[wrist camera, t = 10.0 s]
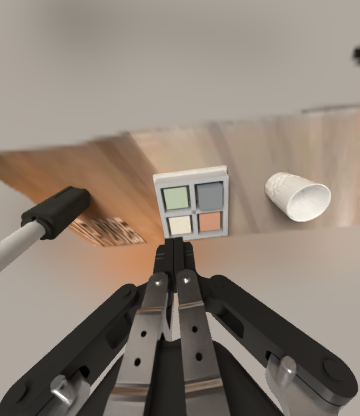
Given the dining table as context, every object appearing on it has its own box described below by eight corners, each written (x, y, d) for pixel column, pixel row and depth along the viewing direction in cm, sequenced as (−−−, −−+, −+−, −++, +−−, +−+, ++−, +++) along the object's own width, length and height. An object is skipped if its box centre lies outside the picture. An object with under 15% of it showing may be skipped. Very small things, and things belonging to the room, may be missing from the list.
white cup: (300, 169, 37) (338, 183, 29) (289, 200, 41) (321, 221, 32) (266, 169, 37) (294, 184, 28) (258, 201, 41) (281, 222, 32)
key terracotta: (216, 205, 40) (220, 211, 37) (217, 221, 42) (220, 229, 39) (197, 207, 40) (199, 214, 37) (198, 224, 42) (200, 231, 39)
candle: (89, 189, 38) (-30, 279, 16) (89, 208, 41) (-14, 309, 19) (66, 185, 38) (-90, 272, 16) (68, 204, 40) (-66, 304, 18)
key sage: (185, 181, 37) (186, 186, 34) (187, 200, 39) (188, 207, 36) (164, 184, 37) (163, 189, 34) (167, 203, 39) (167, 209, 36)
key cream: (188, 208, 40) (189, 215, 37) (190, 225, 42) (191, 232, 40) (169, 211, 40) (168, 218, 37) (172, 227, 43) (171, 234, 40)
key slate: (218, 181, 35) (222, 186, 32) (218, 201, 37) (222, 208, 34) (196, 183, 35) (198, 189, 32) (197, 203, 37) (199, 210, 34)
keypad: (225, 165, 37) (232, 171, 32) (224, 226, 44) (230, 237, 40) (153, 174, 37) (150, 181, 33) (164, 232, 45) (163, 244, 40)
